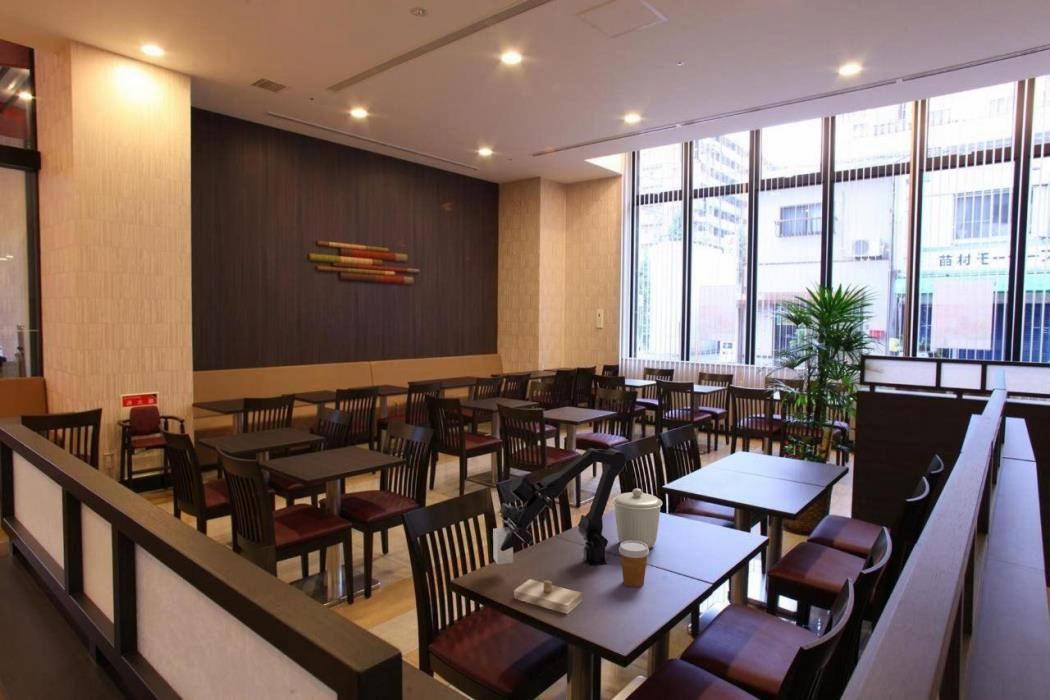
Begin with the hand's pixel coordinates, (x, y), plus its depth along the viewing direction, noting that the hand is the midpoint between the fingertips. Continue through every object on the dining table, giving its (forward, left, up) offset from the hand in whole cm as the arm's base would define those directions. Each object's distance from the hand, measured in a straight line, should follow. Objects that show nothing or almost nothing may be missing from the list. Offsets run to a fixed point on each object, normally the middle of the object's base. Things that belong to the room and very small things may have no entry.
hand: (499, 547), depth 195 cm
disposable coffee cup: (-40, +16, -9) cm, 44 cm away
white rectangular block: (-1, 0, -5) cm, 5 cm away
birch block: (-11, +20, -9) cm, 25 cm away
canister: (-54, -13, -9) cm, 57 cm away
